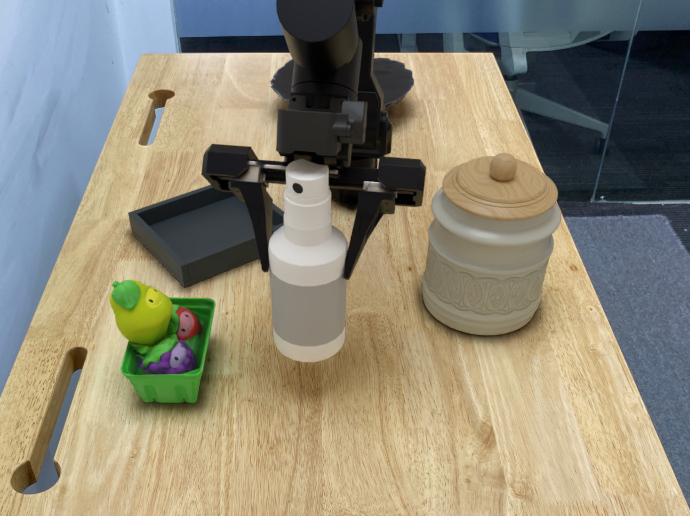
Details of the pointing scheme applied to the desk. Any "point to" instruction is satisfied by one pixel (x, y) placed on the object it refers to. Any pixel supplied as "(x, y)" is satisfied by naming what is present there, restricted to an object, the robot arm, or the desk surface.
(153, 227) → the tray
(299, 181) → the spray bottle
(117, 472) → the desk surface
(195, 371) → the fruit basket
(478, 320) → the jar
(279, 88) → the bowl
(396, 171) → the robot arm
